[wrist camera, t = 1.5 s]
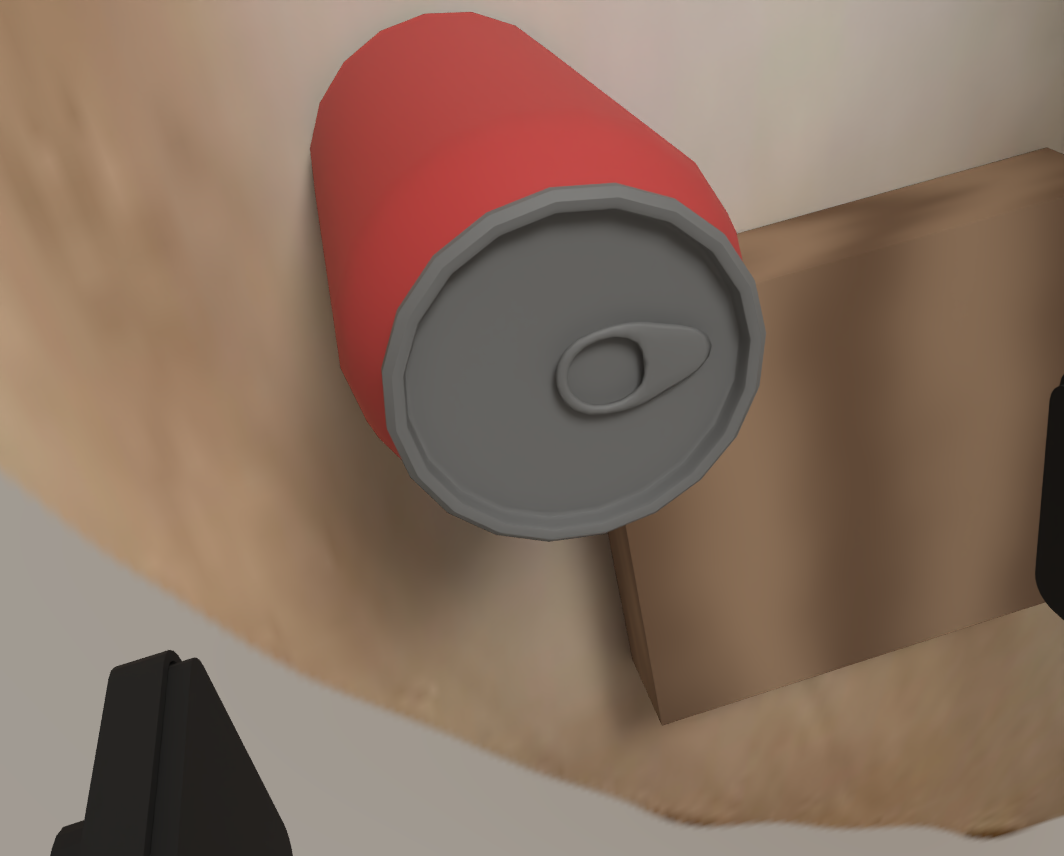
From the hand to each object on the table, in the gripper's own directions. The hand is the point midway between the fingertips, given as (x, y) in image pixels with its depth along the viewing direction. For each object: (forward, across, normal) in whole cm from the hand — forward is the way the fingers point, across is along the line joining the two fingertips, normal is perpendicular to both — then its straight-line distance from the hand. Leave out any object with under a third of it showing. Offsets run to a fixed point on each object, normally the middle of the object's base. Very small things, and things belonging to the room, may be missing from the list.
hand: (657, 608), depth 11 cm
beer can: (+16, -1, -1) cm, 17 cm away
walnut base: (+16, -10, +10) cm, 22 cm away
